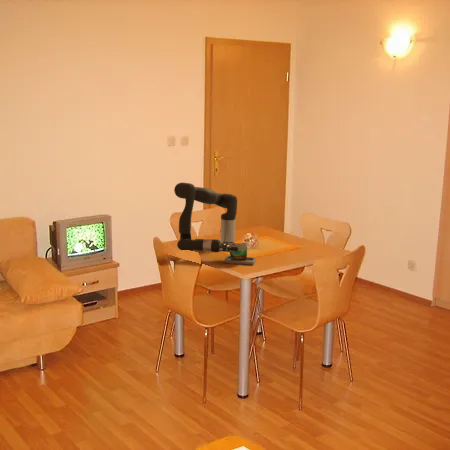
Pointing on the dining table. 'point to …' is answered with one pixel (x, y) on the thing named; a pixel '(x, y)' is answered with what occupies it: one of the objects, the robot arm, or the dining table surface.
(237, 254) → the food container
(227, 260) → the tray
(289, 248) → the dining table surface
